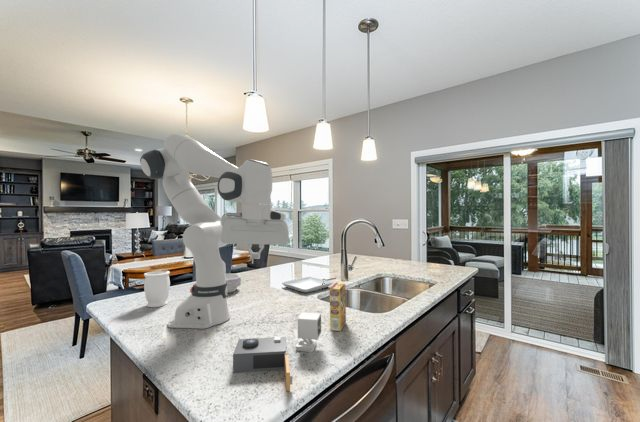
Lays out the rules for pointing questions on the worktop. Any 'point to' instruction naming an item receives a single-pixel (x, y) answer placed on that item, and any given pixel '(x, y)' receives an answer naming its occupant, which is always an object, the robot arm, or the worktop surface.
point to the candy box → (337, 307)
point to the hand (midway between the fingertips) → (255, 258)
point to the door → (287, 373)
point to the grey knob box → (259, 354)
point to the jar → (157, 288)
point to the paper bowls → (232, 282)
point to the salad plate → (307, 284)
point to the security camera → (308, 331)
